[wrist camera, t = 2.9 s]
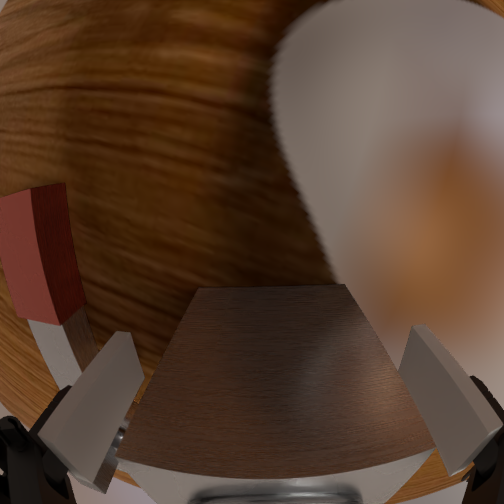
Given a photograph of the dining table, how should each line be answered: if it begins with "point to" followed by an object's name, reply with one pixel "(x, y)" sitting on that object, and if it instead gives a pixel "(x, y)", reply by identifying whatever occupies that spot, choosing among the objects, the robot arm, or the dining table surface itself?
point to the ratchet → (52, 293)
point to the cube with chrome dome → (274, 405)
